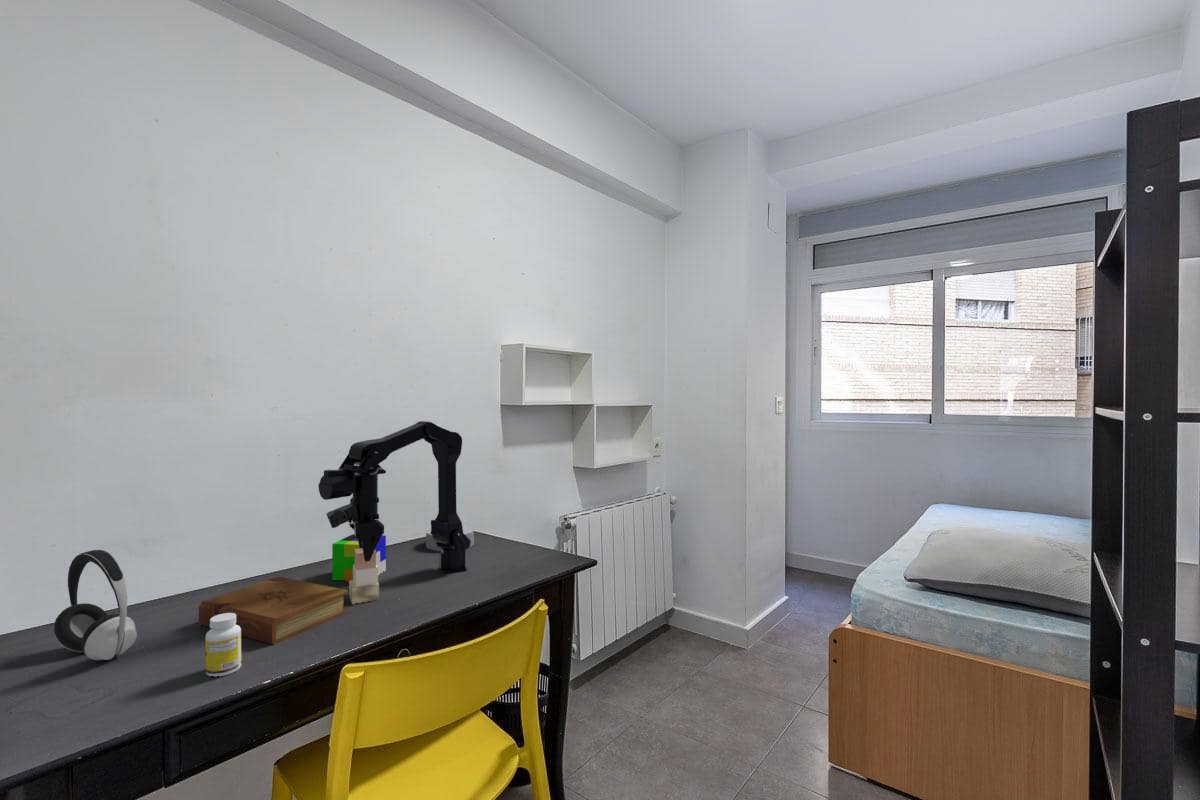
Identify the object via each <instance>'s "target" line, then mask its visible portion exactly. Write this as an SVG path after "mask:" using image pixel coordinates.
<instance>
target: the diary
mask: <svg viewBox="0 0 1200 800" xmlns="http://www.w3.org/2000/svg"><path fill="white" fill-rule="evenodd" d="M348 594H349V589H345V588H338V587H335V586H328V585H323V584H320V583H313V582H308V581H303V580H300V579H299V580H298V579H293V578H288V577H284V576H275V577H272V578H269V579H266V580H263V581H261V582H257V583H255V584H251V585H249V586H245V587H243V588H239V589H236V590H233V591H230V592H227V593H223V594H220V595H218V596H214V597H211V598H209V599H208V598H207V599H205V600H202V602H201V603H200V604H199V606H198V624H199V625H200V626H202V625H203V626H202V627H206V626H207V627H208V628H210V619H211V618H212V617H214V616H216V615H219V614H224V613H235V614H236V623H235V624H236V625H238V626H240V628H241V637H244V638H248V639H252V640H255V641H259V642H262V643H267V644H270V645H273V644H275V645H277V644H279V643H281V641H282V642H283V641H286V640H289V639H290V637H291V638H293V637H295V636H297V635H299V633H300V634H302V633H304V632H306V631H308V629H309V630H310V629H313V628H315V627H317V626H320V625H322V624H324V623H326V622H329V621H331V620H333V619H335V617H336V618H337V616H338V617H340V616H342V615H344V614H343V613H345V614H347V613H348V612H349V611H348V610H349V609H348V610H347V609H344V596H346V595H348ZM346 612H347V613H346ZM341 614H342V615H341ZM339 615H340V616H339ZM276 643H277V644H276Z"/></svg>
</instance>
